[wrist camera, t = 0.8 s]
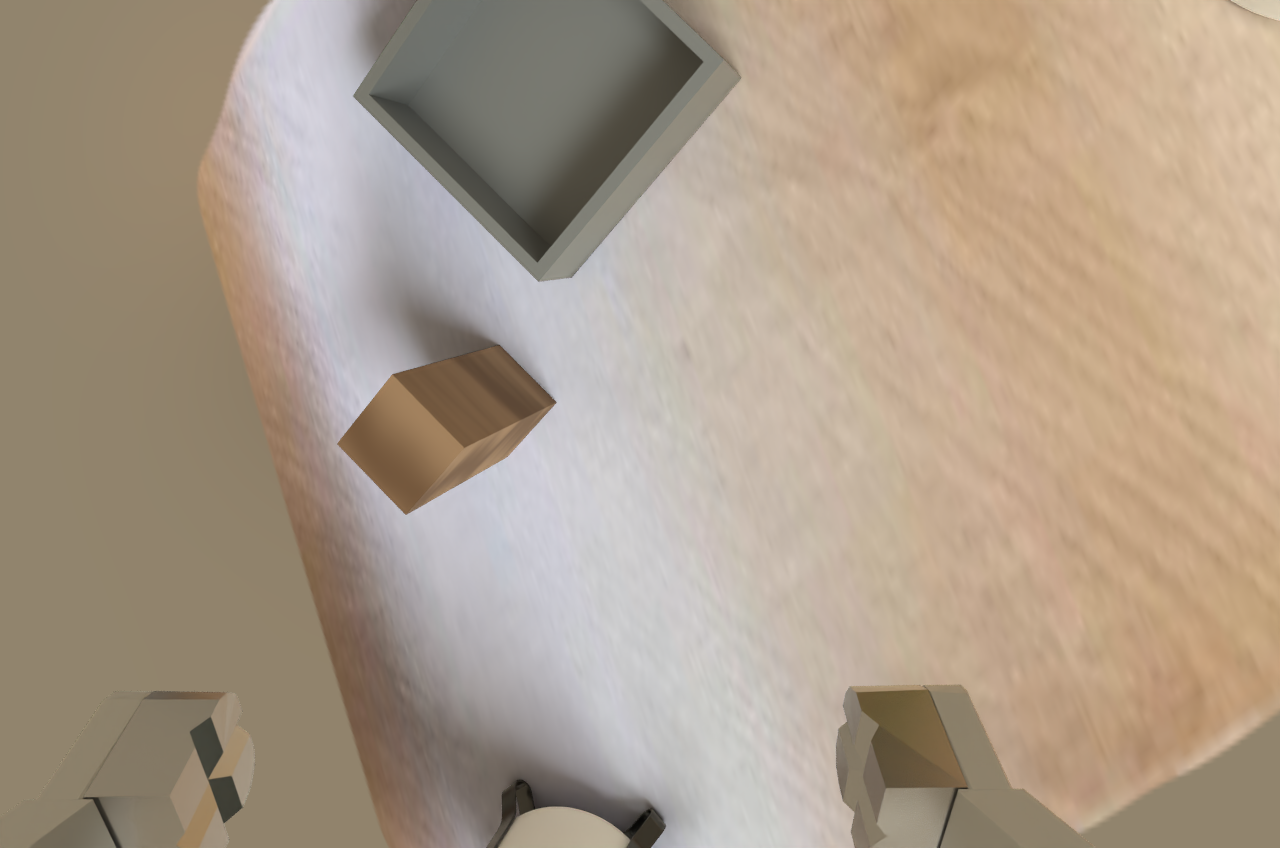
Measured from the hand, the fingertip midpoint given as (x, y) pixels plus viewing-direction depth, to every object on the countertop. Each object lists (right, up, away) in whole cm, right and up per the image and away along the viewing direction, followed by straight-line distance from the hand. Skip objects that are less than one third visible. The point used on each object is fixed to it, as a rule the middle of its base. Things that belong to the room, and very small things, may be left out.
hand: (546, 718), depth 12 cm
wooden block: (-7, +5, +42) cm, 43 cm away
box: (-3, +23, +37) cm, 43 cm away
